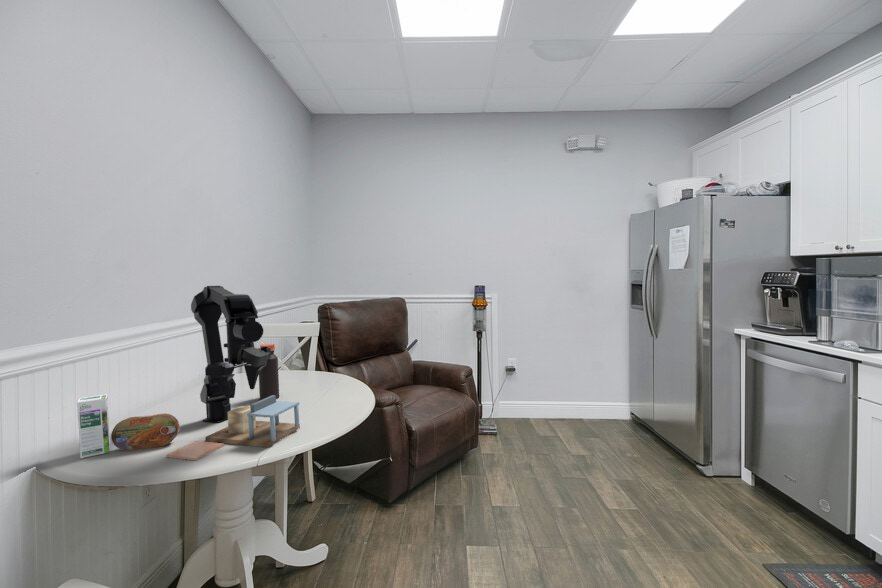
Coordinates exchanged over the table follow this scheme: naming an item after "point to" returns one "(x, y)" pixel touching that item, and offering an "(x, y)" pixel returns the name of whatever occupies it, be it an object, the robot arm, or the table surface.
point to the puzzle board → (260, 435)
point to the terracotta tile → (195, 450)
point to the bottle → (269, 376)
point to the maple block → (239, 420)
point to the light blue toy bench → (271, 413)
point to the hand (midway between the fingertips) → (240, 393)
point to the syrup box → (93, 425)
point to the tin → (145, 432)
